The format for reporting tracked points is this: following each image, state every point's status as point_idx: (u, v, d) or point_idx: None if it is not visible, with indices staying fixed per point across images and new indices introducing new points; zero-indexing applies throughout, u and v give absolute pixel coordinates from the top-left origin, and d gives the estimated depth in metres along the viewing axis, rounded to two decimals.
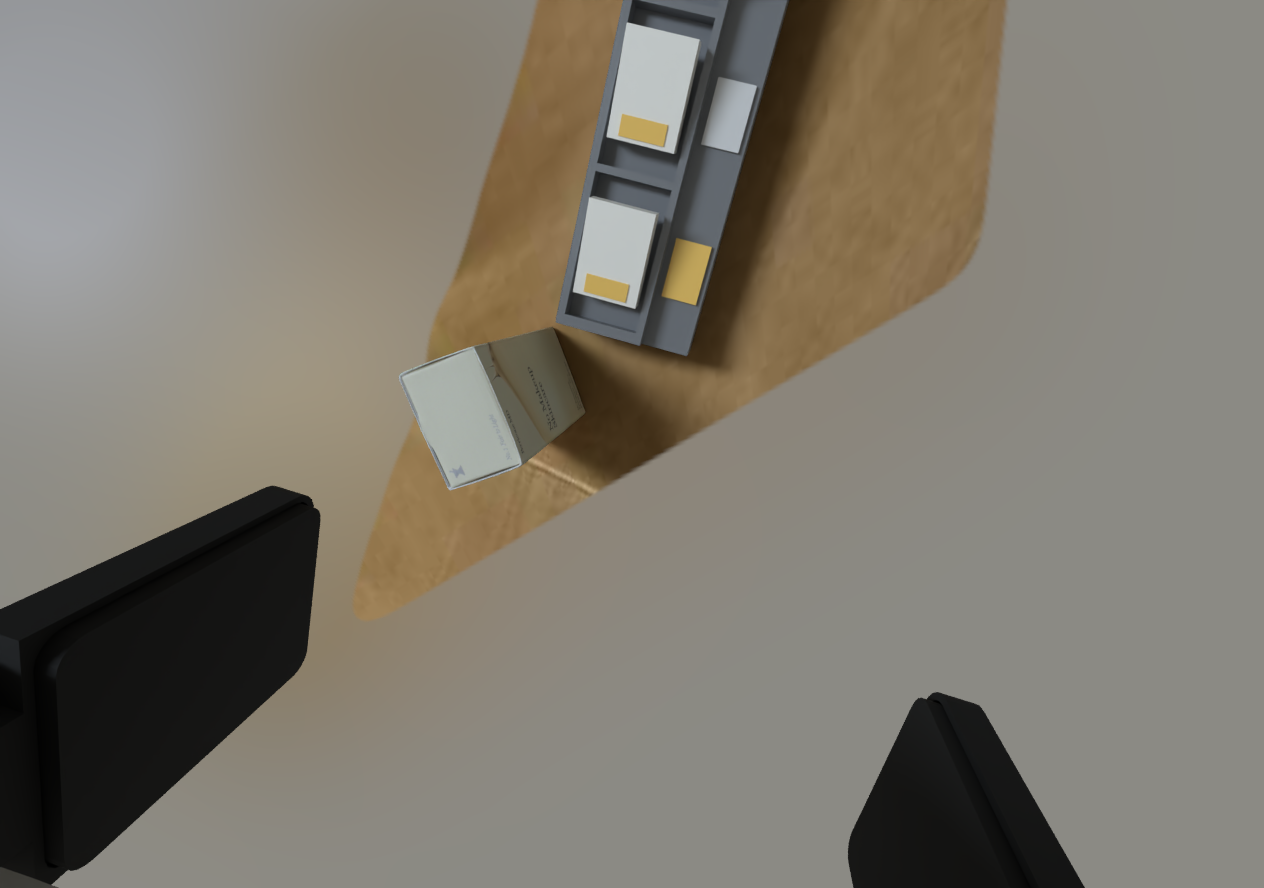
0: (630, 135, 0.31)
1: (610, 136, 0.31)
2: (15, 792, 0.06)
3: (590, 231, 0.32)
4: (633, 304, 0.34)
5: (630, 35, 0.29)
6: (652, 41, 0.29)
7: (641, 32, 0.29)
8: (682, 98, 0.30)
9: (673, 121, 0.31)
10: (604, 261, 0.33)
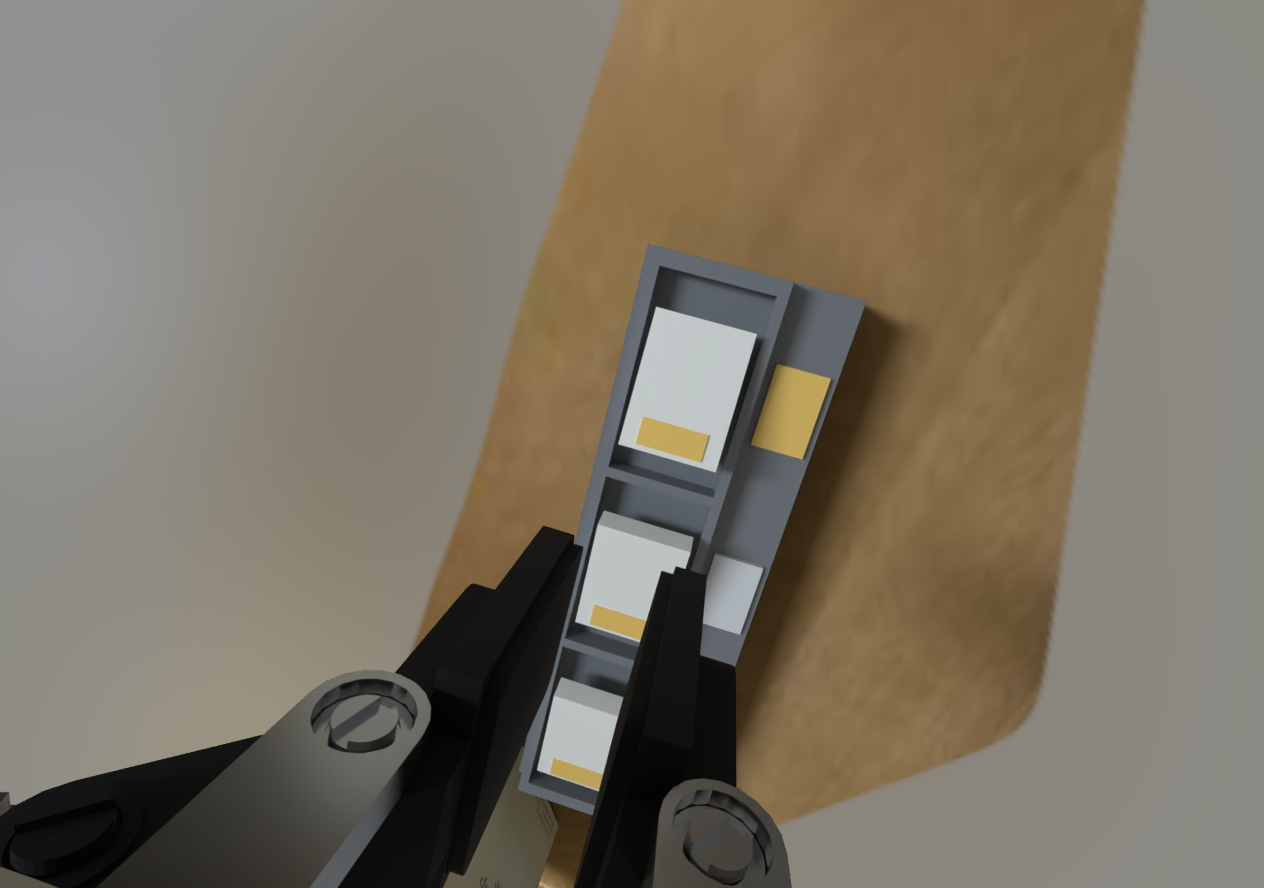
0: (604, 625, 0.25)
1: (580, 622, 0.25)
2: (454, 808, 0.07)
3: (556, 724, 0.26)
4: None
5: (602, 536, 0.23)
6: (630, 546, 0.23)
7: (616, 535, 0.23)
8: None
9: None
10: (575, 752, 0.26)
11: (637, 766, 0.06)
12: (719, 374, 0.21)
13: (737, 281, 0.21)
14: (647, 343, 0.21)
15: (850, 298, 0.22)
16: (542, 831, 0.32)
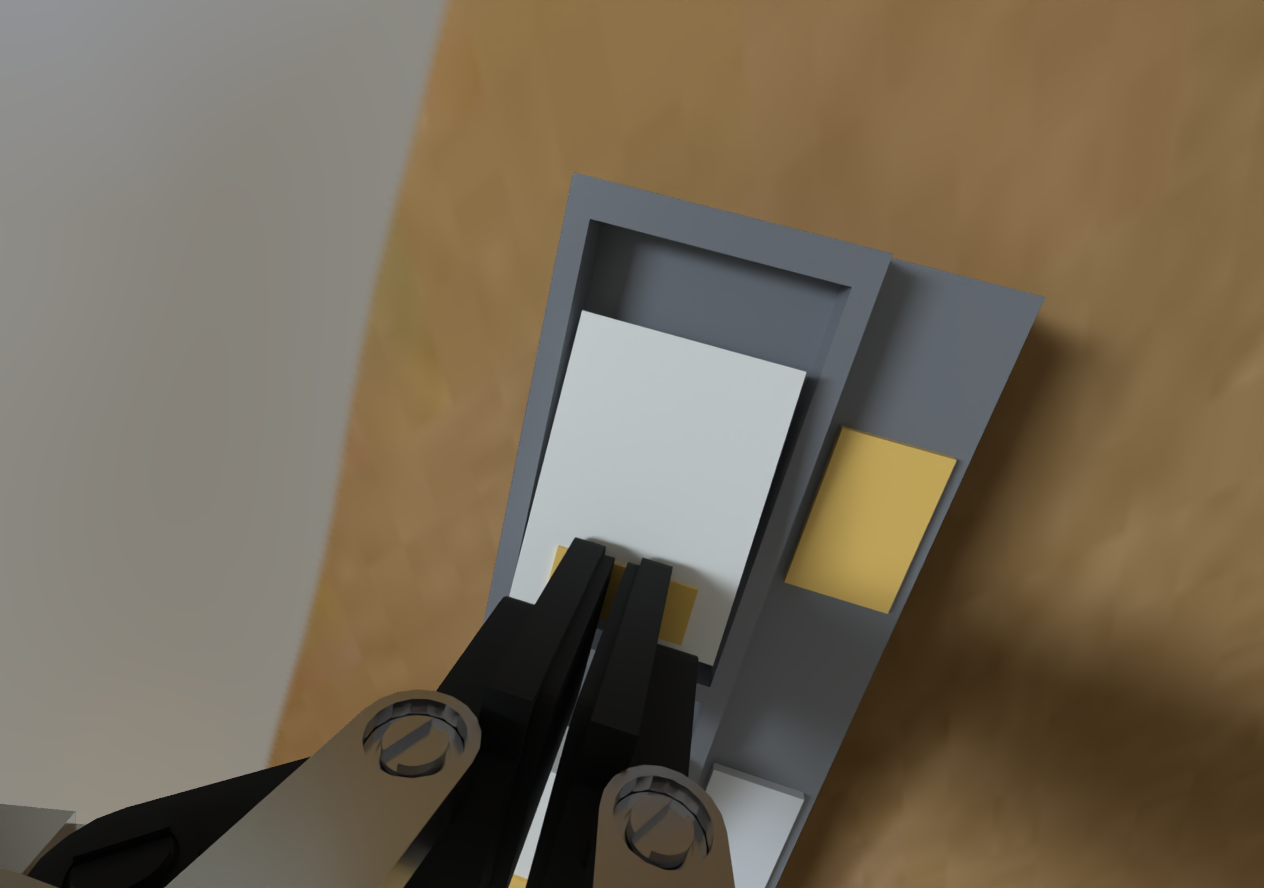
0: None
1: None
2: (500, 829, 0.07)
3: None
4: None
5: None
6: None
7: None
8: None
9: None
10: None
11: (585, 752, 0.06)
12: (721, 459, 0.10)
13: (762, 253, 0.09)
14: (564, 390, 0.10)
15: (1009, 291, 0.10)
16: None
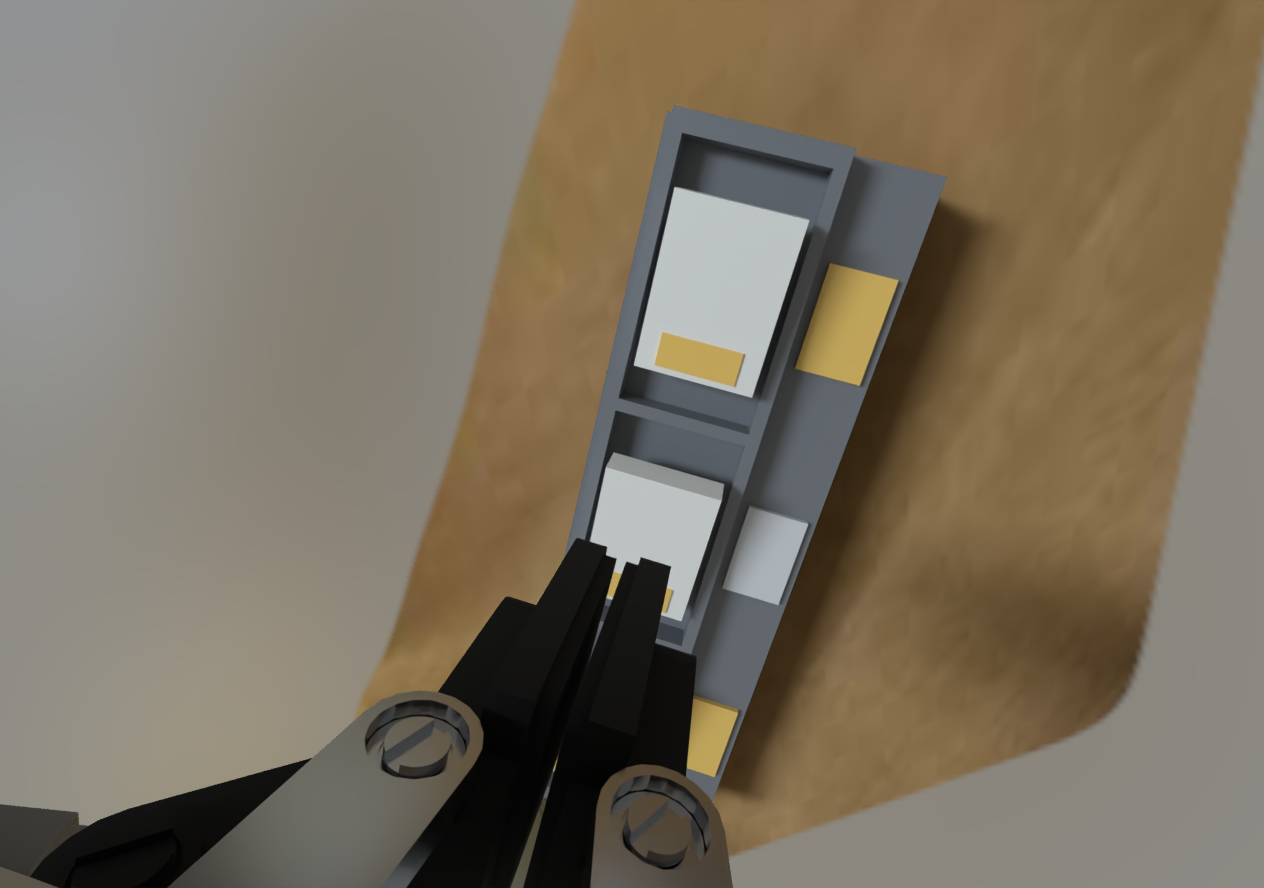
0: None
1: None
2: (502, 830, 0.07)
3: None
4: None
5: (612, 482, 0.19)
6: (646, 494, 0.19)
7: (628, 481, 0.19)
8: (694, 564, 0.19)
9: (680, 586, 0.20)
10: None
11: (582, 752, 0.06)
12: (758, 276, 0.17)
13: (782, 150, 0.16)
14: (664, 238, 0.17)
15: (926, 173, 0.17)
16: None
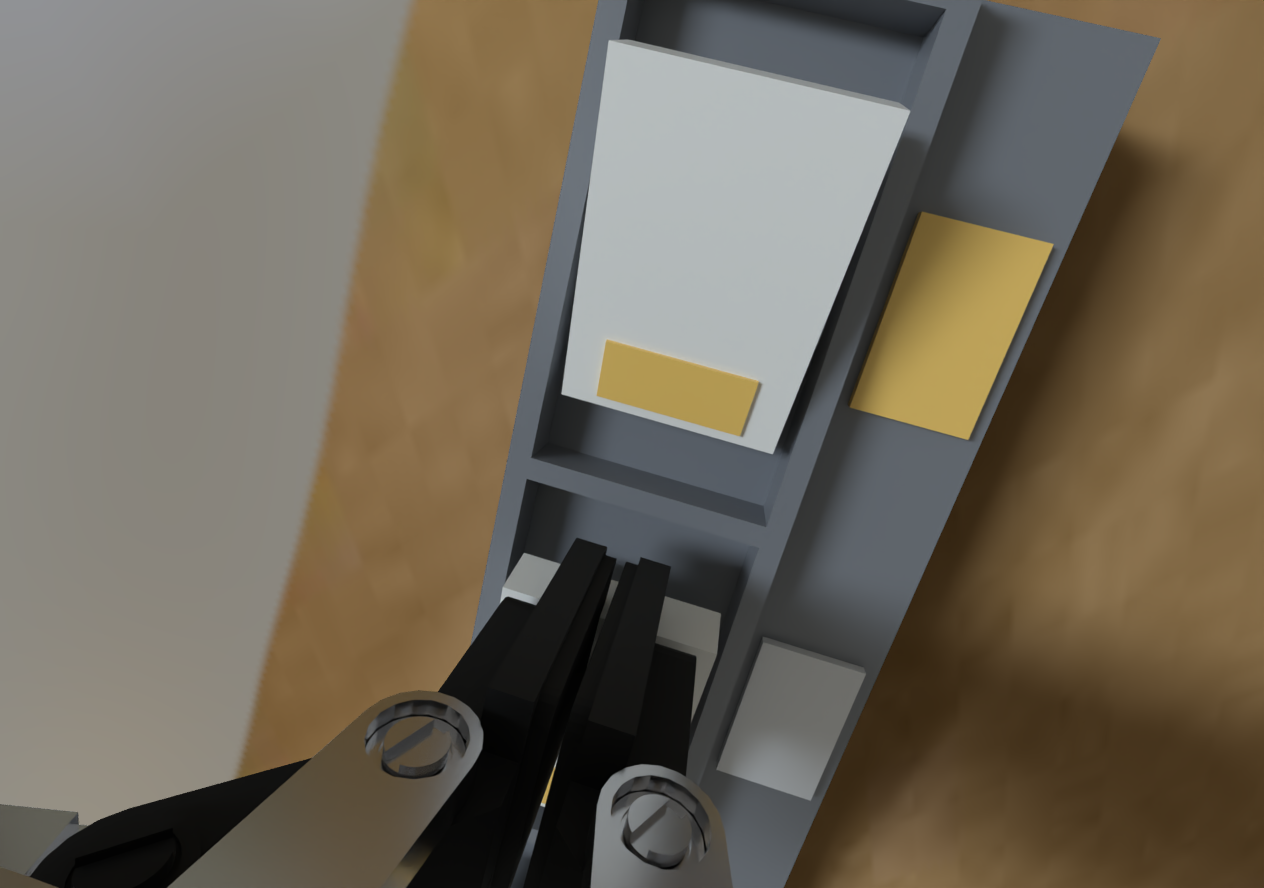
0: None
1: None
2: (501, 830, 0.07)
3: None
4: None
5: None
6: None
7: None
8: None
9: None
10: None
11: (582, 752, 0.06)
12: (790, 236, 0.08)
13: None
14: (596, 157, 0.08)
15: (1119, 32, 0.09)
16: None
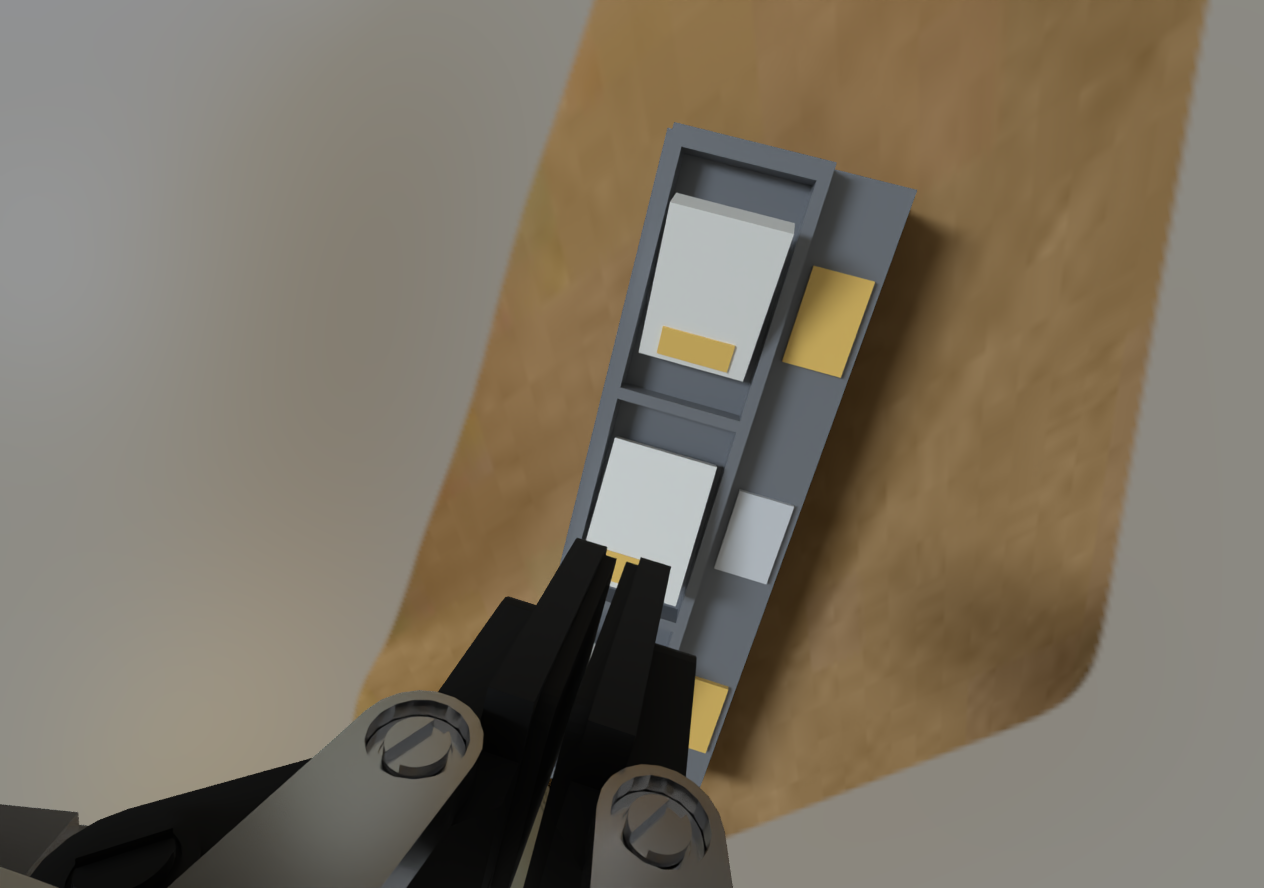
0: (612, 577, 0.21)
1: None
2: (502, 830, 0.07)
3: None
4: None
5: (619, 453, 0.21)
6: (650, 463, 0.21)
7: (634, 451, 0.21)
8: (690, 536, 0.21)
9: (676, 564, 0.21)
10: None
11: (582, 752, 0.06)
12: (747, 281, 0.18)
13: (771, 163, 0.18)
14: (662, 246, 0.18)
15: (898, 186, 0.19)
16: (540, 816, 0.29)
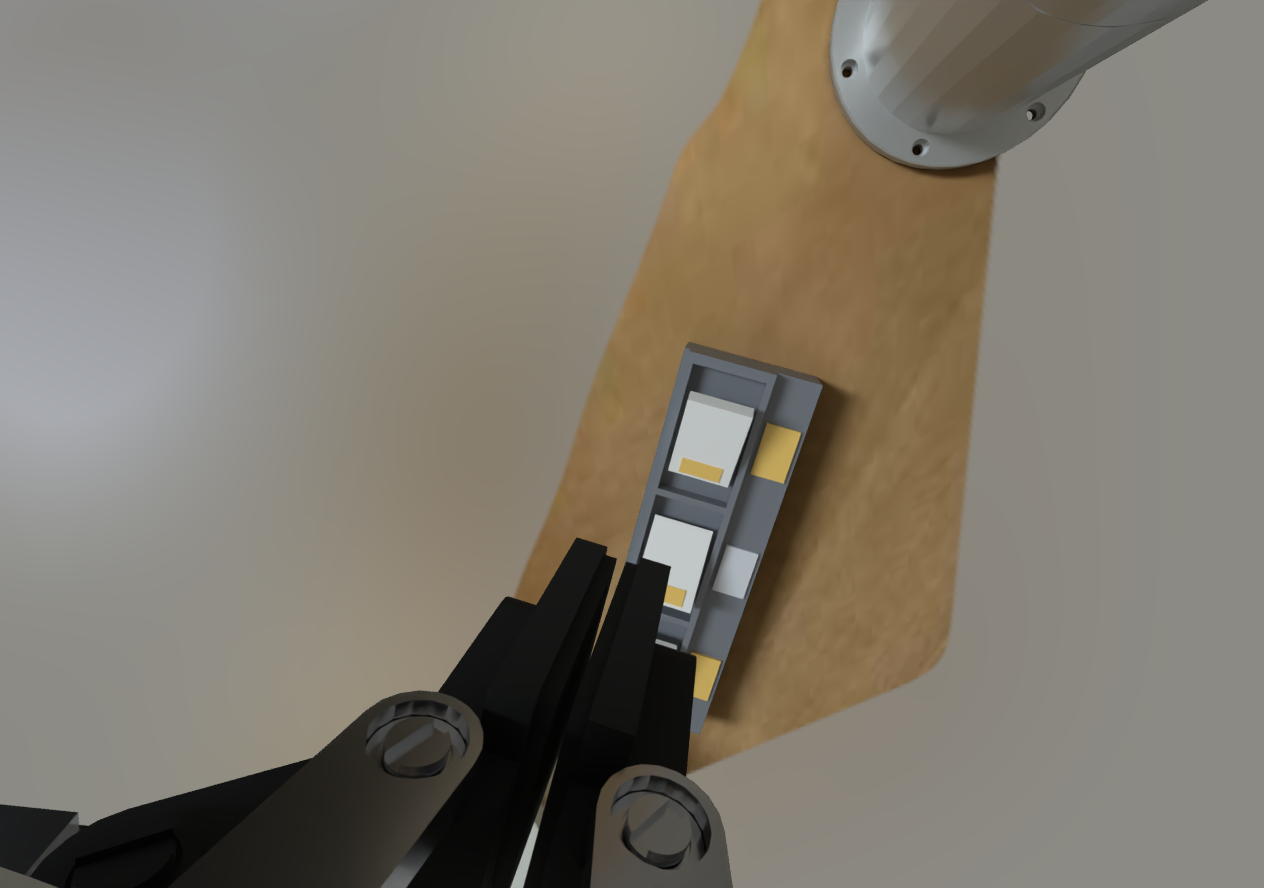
0: None
1: None
2: (502, 831, 0.07)
3: None
4: None
5: (657, 523, 0.37)
6: (675, 529, 0.37)
7: (666, 522, 0.37)
8: (698, 571, 0.36)
9: (690, 588, 0.36)
10: None
11: (583, 752, 0.06)
12: (729, 438, 0.34)
13: (742, 374, 0.34)
14: (683, 419, 0.34)
15: (812, 383, 0.34)
16: None
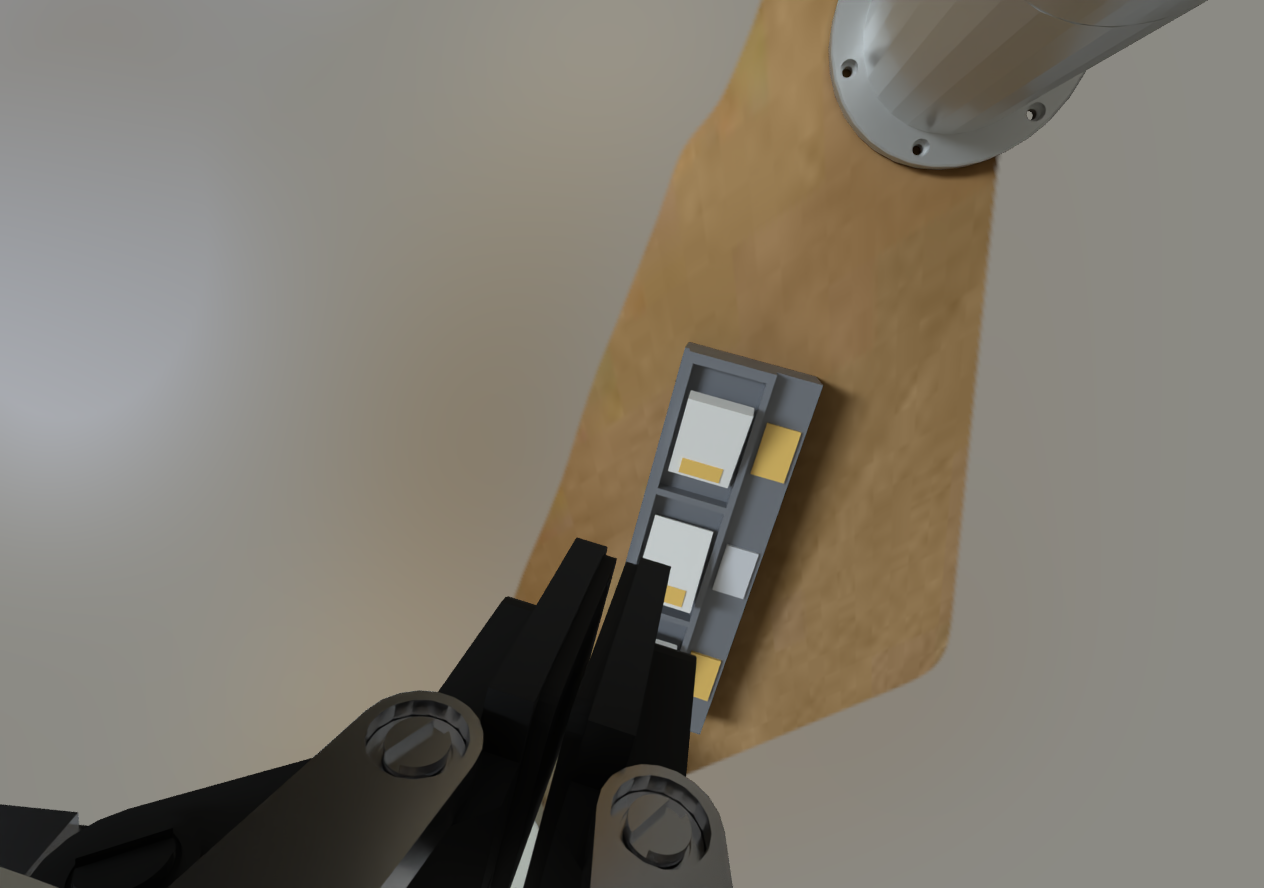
0: None
1: None
2: (502, 831, 0.07)
3: None
4: None
5: (657, 523, 0.37)
6: (675, 529, 0.37)
7: (666, 522, 0.37)
8: (698, 572, 0.36)
9: (690, 588, 0.36)
10: None
11: (583, 752, 0.06)
12: (729, 437, 0.34)
13: (742, 374, 0.34)
14: (683, 418, 0.34)
15: (813, 383, 0.34)
16: None
